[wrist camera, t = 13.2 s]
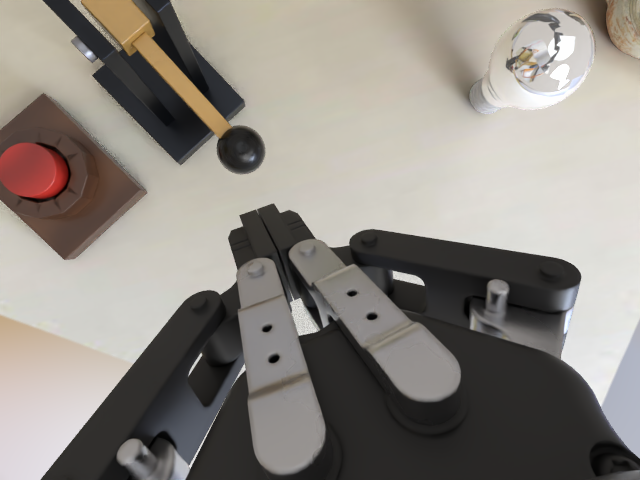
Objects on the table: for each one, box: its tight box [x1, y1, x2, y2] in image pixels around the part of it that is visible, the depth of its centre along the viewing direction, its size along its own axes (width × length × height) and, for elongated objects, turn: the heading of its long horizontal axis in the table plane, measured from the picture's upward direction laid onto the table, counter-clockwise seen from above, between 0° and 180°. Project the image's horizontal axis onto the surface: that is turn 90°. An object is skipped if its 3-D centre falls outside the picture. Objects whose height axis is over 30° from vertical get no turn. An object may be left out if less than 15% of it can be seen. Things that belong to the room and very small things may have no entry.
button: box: [0, 143, 69, 199], centre depth 28 cm, size 4×4×2 cm
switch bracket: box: [43, 0, 245, 165], centre depth 27 cm, size 10×8×13 cm
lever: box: [81, 0, 265, 174], centre depth 23 cm, size 13×3×3 cm, turn 45°
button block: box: [0, 93, 147, 260], centre depth 30 cm, size 11×8×4 cm
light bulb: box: [470, 8, 596, 114], centre depth 31 cm, size 7×7×12 cm
